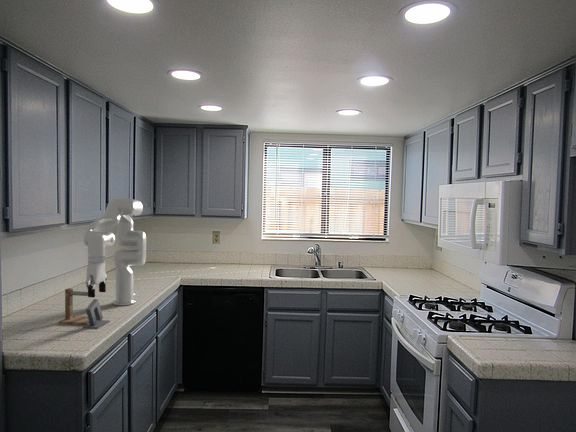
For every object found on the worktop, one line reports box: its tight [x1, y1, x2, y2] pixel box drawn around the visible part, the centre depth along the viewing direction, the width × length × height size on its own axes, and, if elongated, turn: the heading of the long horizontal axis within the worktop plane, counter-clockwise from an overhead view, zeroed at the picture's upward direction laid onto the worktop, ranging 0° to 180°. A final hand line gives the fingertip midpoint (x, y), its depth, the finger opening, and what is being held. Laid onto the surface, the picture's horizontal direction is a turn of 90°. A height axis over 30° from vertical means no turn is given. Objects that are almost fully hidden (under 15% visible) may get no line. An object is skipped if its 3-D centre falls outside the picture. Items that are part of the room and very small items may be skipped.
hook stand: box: [58, 288, 89, 326], centre depth 208 cm, size 14×10×16 cm
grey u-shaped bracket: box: [85, 298, 104, 326], centre depth 202 cm, size 8×2×11 cm, turn 175°
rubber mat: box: [82, 319, 110, 329], centre depth 204 cm, size 11×8×1 cm
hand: (97, 294), depth 204 cm, fingers open, 9 cm apart
